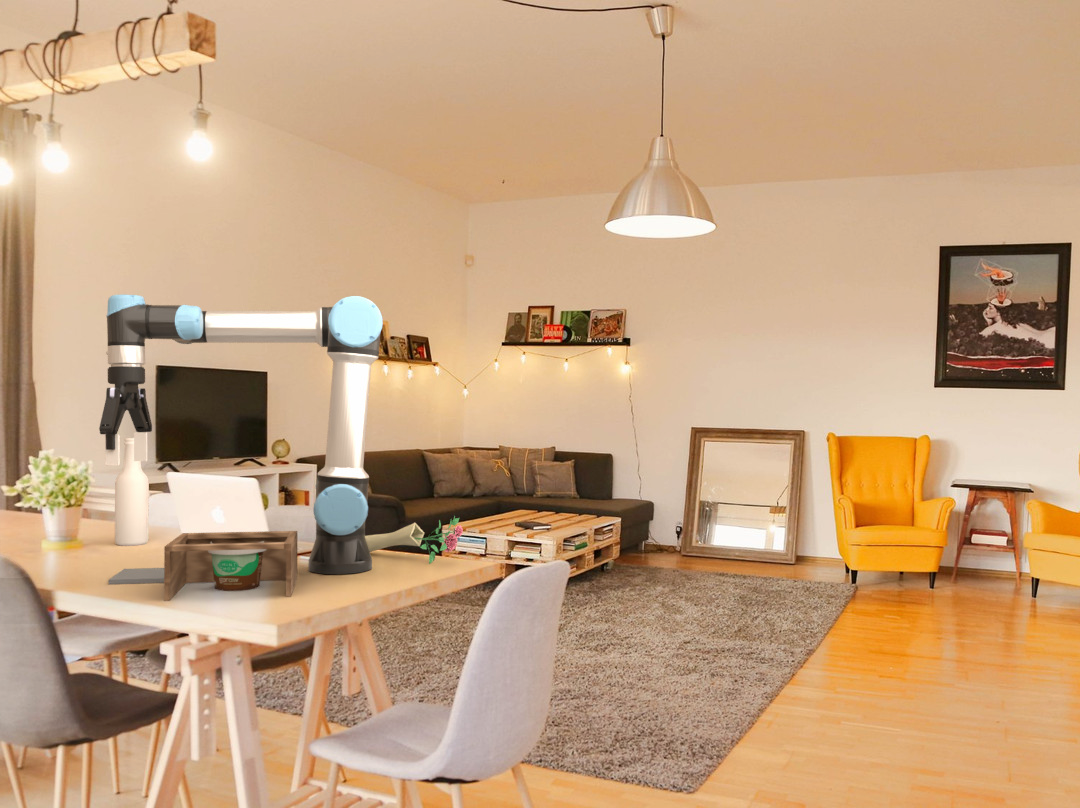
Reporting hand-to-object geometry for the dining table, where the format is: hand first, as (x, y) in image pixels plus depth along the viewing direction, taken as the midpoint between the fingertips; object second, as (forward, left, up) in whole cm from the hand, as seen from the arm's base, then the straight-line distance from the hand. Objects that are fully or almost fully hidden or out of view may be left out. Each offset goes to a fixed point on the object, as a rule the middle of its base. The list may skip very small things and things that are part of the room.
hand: (127, 463), depth 205 cm
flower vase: (-63, -26, -27) cm, 74 cm away
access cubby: (-23, +7, -27) cm, 36 cm away
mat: (-2, -10, -27) cm, 29 cm away
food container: (-23, +7, -27) cm, 37 cm away
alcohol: (+14, -65, -27) cm, 72 cm away
